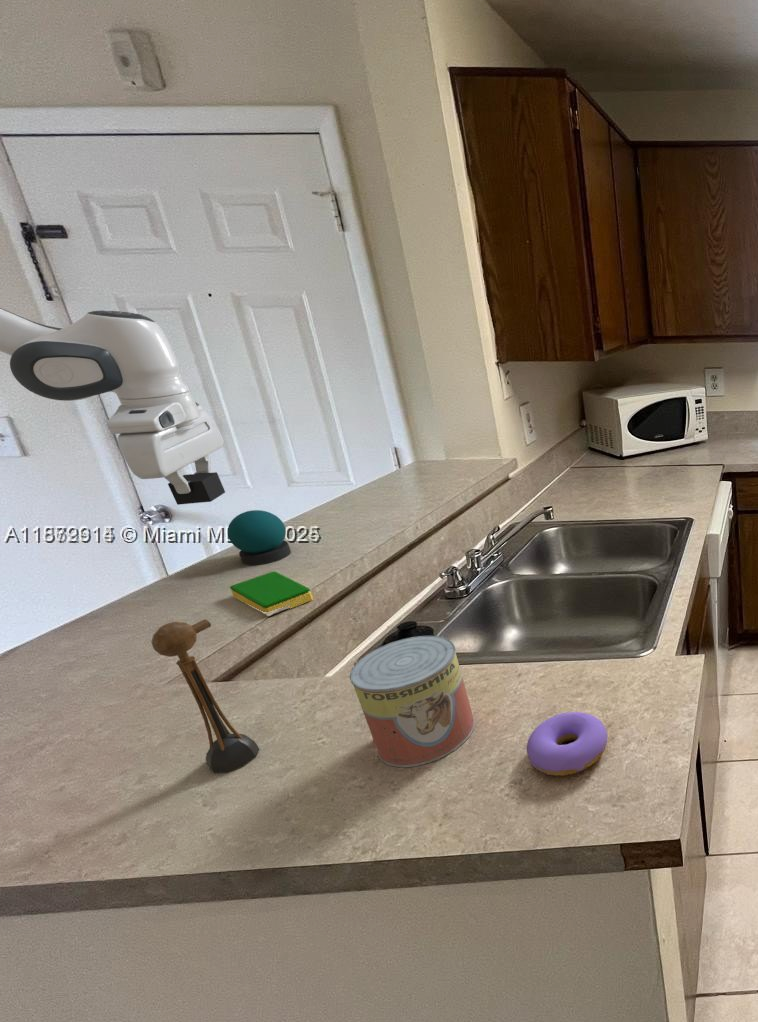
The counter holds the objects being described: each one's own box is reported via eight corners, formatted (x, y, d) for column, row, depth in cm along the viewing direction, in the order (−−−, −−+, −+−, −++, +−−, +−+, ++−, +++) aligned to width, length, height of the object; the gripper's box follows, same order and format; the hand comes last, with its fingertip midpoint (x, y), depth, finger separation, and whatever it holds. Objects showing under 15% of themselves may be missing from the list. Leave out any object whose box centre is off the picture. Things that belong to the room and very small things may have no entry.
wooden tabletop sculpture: (247, 736, 80) (185, 606, 72) (276, 742, 80) (216, 610, 71) (199, 770, 75) (126, 633, 67) (229, 776, 74) (159, 638, 66)
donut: (626, 738, 80) (616, 714, 77) (577, 798, 74) (564, 775, 71) (569, 714, 84) (558, 691, 81) (518, 770, 78) (504, 746, 75)
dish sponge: (268, 617, 107) (263, 605, 106) (233, 597, 113) (228, 585, 112) (314, 600, 112) (310, 588, 111) (278, 581, 119) (274, 570, 118)
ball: (230, 568, 123) (210, 522, 119) (251, 550, 131) (233, 506, 127) (283, 563, 126) (265, 517, 121) (301, 545, 133) (285, 501, 129)
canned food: (392, 782, 74) (363, 703, 69) (367, 735, 81) (339, 661, 76) (488, 734, 81) (468, 660, 76) (457, 695, 88) (437, 625, 83)
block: (177, 504, 109) (167, 483, 107) (193, 495, 113) (184, 474, 111) (211, 501, 110) (201, 480, 108) (225, 492, 114) (217, 472, 113)
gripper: (176, 399, 113) (206, 470, 119) (98, 426, 95) (138, 508, 101) (217, 397, 115) (245, 467, 120) (148, 423, 97) (185, 504, 103)
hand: (196, 486), depth 110 cm, fingers closed on block, 5 cm apart
